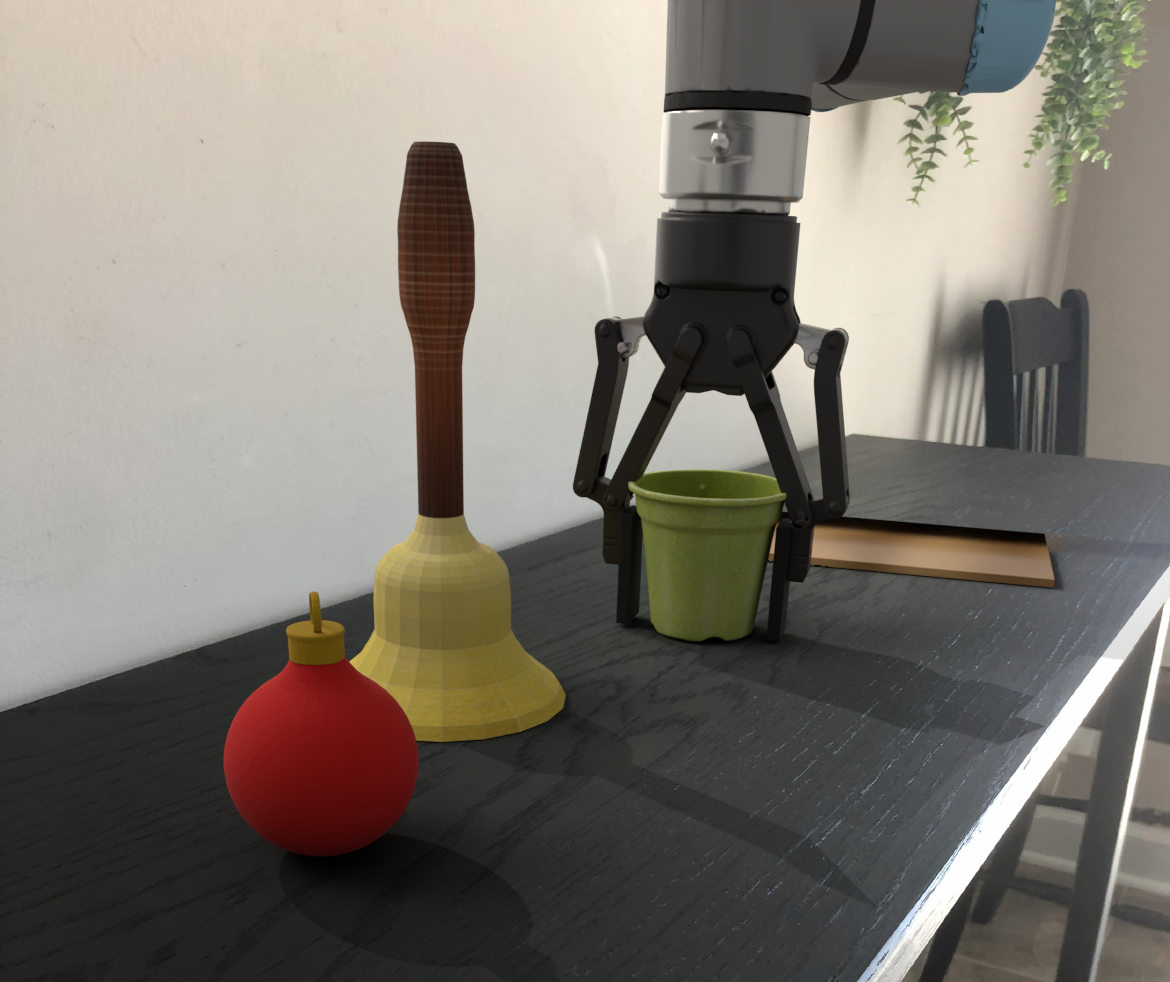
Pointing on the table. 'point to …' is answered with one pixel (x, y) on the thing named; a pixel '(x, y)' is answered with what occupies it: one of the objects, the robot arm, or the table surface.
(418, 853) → the table surface
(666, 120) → the robot arm
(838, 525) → the wooden board
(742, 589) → the plant pot
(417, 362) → the handbell
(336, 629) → the christmas ornament
